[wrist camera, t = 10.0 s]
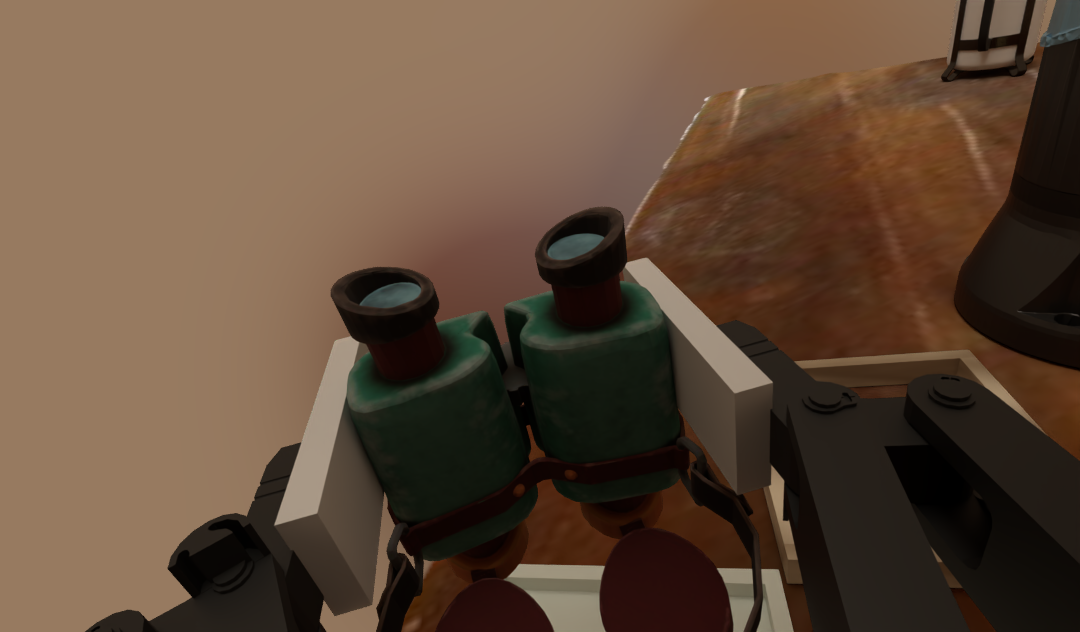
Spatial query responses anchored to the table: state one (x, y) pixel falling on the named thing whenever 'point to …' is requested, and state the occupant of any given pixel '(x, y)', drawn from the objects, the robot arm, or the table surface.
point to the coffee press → (994, 35)
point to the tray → (576, 591)
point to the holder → (878, 374)
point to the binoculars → (535, 438)
